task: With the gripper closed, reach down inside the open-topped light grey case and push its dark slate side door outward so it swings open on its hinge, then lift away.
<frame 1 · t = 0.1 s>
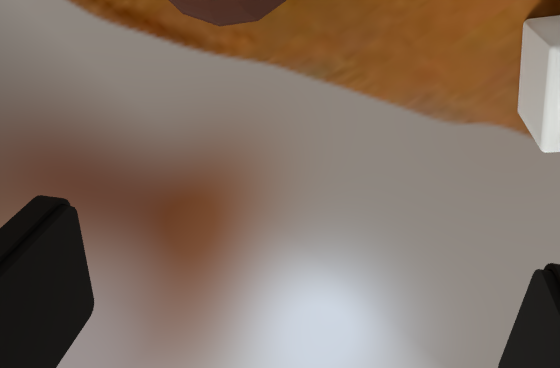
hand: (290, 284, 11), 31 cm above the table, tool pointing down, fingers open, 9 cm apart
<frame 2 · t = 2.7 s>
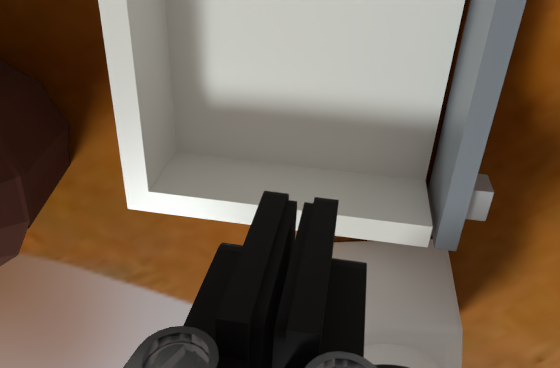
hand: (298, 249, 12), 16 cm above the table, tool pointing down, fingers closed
case: (309, 14, 24), on the table
medicine bottle: (386, 281, 32), on the table
side door: (500, 38, 21), point 3 cm above the table, hinge at 0.0°
muffin: (4, 126, 31), on the table
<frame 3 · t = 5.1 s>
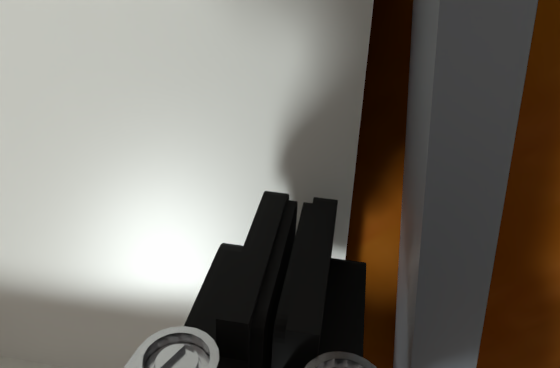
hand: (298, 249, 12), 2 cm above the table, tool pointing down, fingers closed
case: (92, 149, 13), on the table
side door: (464, 240, 10), point 3 cm above the table, hinge at 5.5°, touching gripper
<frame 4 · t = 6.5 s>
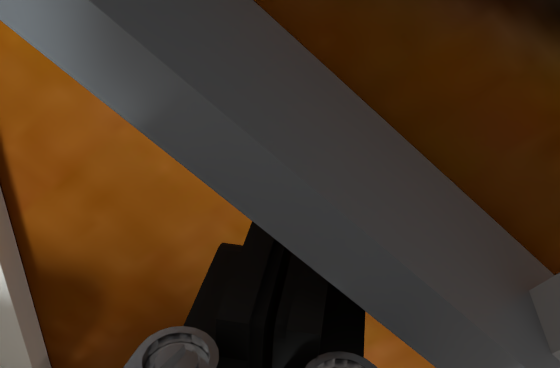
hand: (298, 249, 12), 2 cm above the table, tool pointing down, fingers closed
side door: (276, 71, 8), point 3 cm above the table, hinge at 51.8°
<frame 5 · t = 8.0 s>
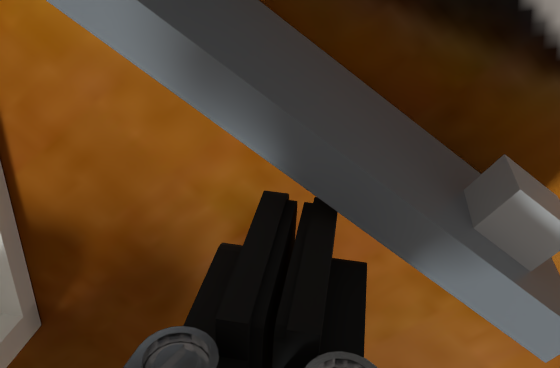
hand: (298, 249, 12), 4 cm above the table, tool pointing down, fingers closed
side door: (231, 13, 11), point 3 cm above the table, hinge at 57.4°
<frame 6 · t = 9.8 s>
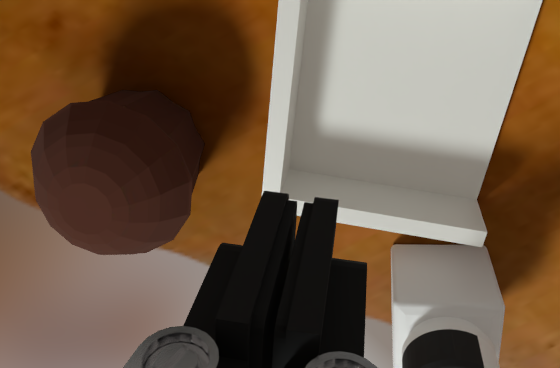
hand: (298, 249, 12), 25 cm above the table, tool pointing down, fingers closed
case: (403, 76, 34), on the table
medicine bottle: (436, 277, 41), on the table
muffin: (150, 142, 40), on the table
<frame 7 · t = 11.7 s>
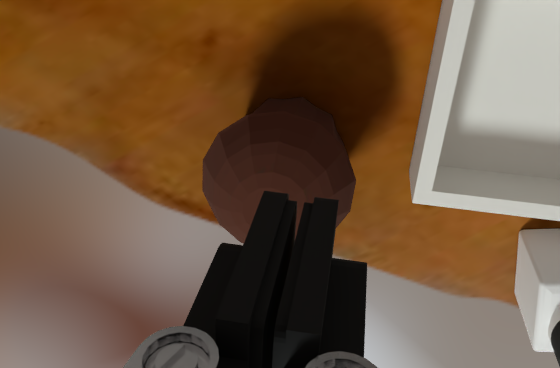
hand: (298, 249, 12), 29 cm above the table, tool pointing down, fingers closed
case: (543, 74, 37), on the table
medicine bottle: (559, 259, 44), on the table
muffin: (290, 145, 43), on the table
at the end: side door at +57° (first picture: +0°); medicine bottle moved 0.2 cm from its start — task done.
